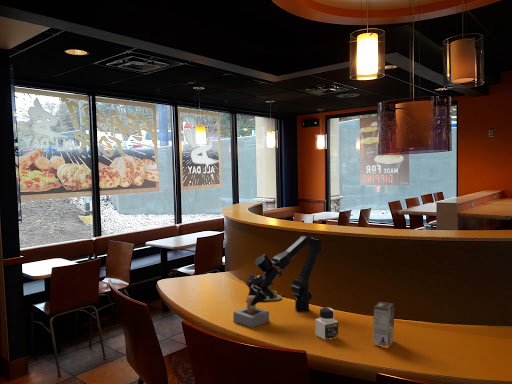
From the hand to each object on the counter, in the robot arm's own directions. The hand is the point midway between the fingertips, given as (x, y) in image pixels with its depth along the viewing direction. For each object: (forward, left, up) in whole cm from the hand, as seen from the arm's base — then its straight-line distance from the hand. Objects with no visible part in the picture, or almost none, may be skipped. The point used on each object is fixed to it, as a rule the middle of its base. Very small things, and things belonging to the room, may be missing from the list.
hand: (248, 303), depth 187 cm
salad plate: (-10, -38, -9) cm, 40 cm away
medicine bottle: (-33, +18, -9) cm, 39 cm away
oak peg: (-1, -1, -7) cm, 7 cm away
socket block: (-1, -1, -8) cm, 9 cm away
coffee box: (-55, +26, -9) cm, 62 cm away
